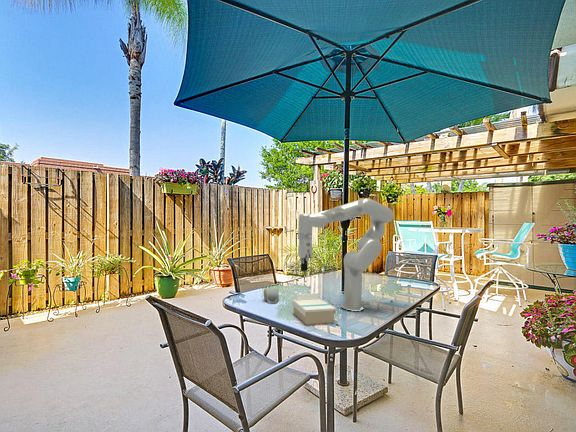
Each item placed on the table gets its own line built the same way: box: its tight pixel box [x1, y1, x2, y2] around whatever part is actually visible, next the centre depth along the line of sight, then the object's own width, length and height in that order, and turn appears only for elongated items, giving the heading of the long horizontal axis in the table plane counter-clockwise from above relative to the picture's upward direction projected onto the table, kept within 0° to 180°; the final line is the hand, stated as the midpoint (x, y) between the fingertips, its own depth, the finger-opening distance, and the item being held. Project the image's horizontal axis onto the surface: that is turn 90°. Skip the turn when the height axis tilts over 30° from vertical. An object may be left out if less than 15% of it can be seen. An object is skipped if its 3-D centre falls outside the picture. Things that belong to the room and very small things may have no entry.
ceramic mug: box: [263, 287, 280, 305], centre depth 179 cm, size 11×8×8 cm
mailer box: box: [293, 307, 335, 326], centre depth 150 cm, size 14×18×6 cm
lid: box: [292, 292, 337, 317], centre depth 150 cm, size 15×19×6 cm
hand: (304, 270), depth 164 cm, fingers closed
